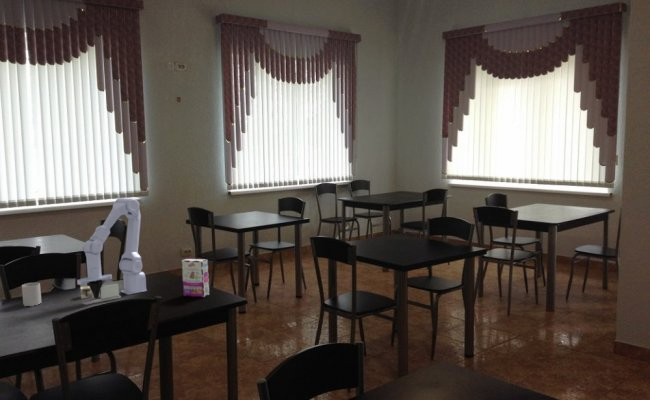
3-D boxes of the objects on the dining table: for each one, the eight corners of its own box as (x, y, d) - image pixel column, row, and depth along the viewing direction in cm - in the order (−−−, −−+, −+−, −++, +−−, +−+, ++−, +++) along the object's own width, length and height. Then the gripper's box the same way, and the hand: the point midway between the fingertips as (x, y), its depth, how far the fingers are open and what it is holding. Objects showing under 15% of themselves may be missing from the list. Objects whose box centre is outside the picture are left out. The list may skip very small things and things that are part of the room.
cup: (24, 307, 258) (22, 287, 257) (21, 302, 267) (19, 283, 266) (42, 304, 262) (41, 284, 261) (39, 300, 270) (37, 280, 270)
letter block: (91, 295, 276) (91, 285, 276) (92, 297, 272) (91, 288, 272) (81, 296, 275) (80, 286, 274) (81, 299, 270) (80, 289, 270)
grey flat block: (118, 295, 271) (117, 283, 270) (119, 295, 270) (118, 283, 269) (100, 298, 266) (99, 286, 265) (101, 299, 265) (100, 286, 264)
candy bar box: (210, 294, 271) (208, 259, 269) (203, 297, 266) (202, 261, 264) (189, 293, 275) (187, 257, 273) (182, 295, 270) (180, 260, 269)
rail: (118, 296, 272) (118, 295, 272) (121, 297, 270) (121, 296, 270) (83, 303, 261) (83, 302, 261) (85, 305, 260) (85, 303, 260)
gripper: (107, 263, 270) (109, 292, 272) (74, 268, 261) (76, 299, 262) (113, 265, 265) (115, 295, 266) (79, 271, 255) (81, 302, 257)
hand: (96, 297), depth 264 cm, fingers closed
